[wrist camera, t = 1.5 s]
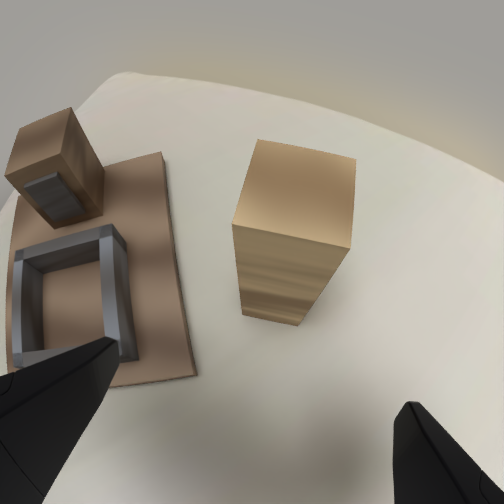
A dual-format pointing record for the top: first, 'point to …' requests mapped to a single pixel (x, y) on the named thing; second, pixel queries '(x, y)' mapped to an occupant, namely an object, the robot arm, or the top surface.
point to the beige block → (291, 228)
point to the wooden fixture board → (92, 256)
